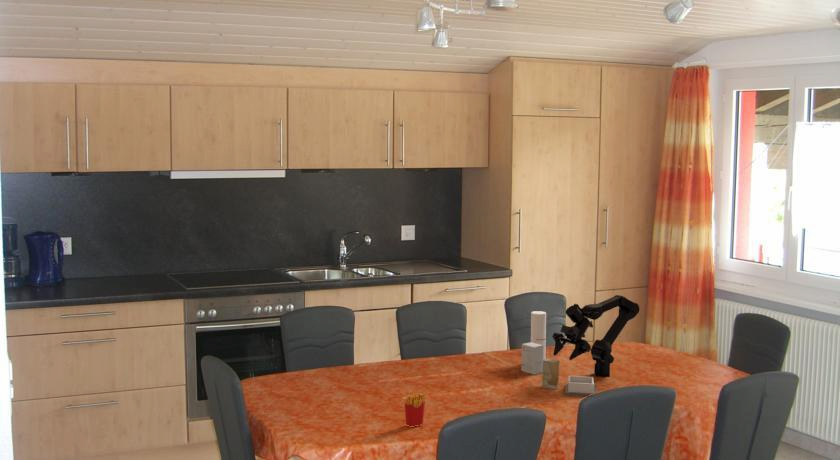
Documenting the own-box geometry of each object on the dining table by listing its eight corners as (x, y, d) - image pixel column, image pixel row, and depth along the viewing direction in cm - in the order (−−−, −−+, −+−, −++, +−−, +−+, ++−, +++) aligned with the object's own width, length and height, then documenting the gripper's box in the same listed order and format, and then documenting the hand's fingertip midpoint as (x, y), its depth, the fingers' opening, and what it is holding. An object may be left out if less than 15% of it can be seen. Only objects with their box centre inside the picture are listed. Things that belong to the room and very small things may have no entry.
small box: (543, 372, 379) (543, 345, 378) (533, 375, 375) (534, 347, 374) (530, 368, 386) (530, 341, 384) (520, 371, 382) (521, 343, 380)
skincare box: (541, 387, 357) (542, 360, 355) (544, 384, 361) (545, 357, 359) (555, 389, 354) (556, 362, 352) (559, 387, 358) (559, 359, 356)
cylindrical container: (544, 366, 390) (545, 314, 387) (529, 365, 391) (530, 313, 388) (545, 362, 396) (546, 311, 394) (530, 361, 398) (531, 310, 395)
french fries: (408, 428, 306) (409, 397, 305) (403, 425, 310) (403, 394, 308) (427, 424, 311) (427, 393, 310) (421, 421, 315) (421, 390, 313)
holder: (595, 387, 357) (596, 376, 357) (596, 396, 344) (597, 385, 344) (565, 385, 360) (565, 374, 359) (565, 394, 347) (565, 383, 346)
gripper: (555, 314, 369) (537, 342, 363) (587, 322, 354) (569, 351, 349) (567, 329, 374) (549, 356, 369) (598, 337, 360) (581, 366, 354)
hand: (561, 357), depth 360 cm, fingers open, 9 cm apart
